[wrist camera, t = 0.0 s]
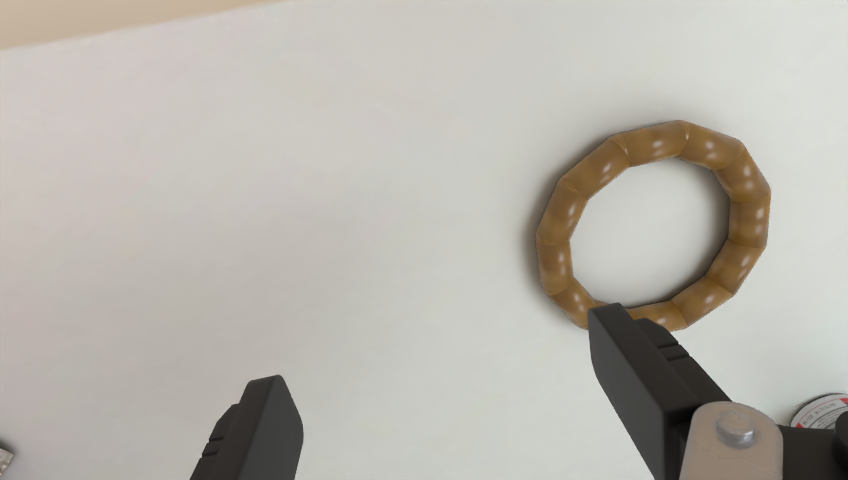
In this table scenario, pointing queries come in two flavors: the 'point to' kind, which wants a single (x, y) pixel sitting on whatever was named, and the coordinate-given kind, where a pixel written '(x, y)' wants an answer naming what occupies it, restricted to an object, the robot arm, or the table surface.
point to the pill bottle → (821, 412)
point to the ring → (642, 148)
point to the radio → (4, 459)
